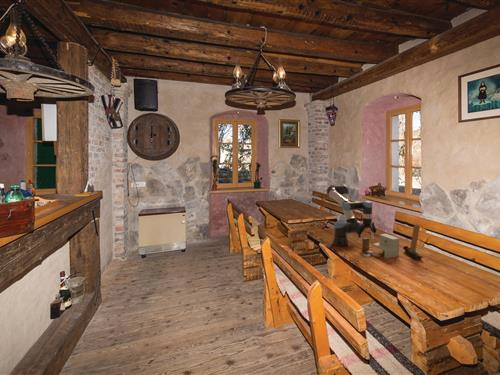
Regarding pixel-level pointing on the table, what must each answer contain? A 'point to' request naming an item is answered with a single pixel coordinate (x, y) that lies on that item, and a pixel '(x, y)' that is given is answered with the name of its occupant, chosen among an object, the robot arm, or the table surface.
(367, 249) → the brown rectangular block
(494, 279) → the table surface
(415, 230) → the hammer
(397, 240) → the plinth shelf
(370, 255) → the chrome dome knob
